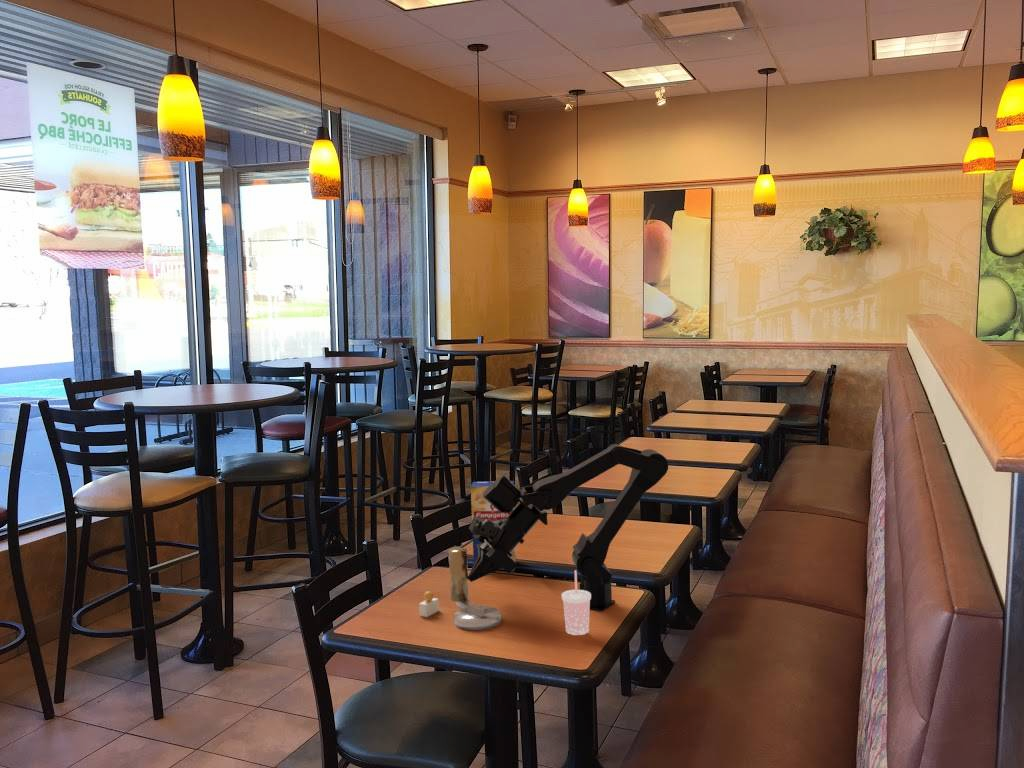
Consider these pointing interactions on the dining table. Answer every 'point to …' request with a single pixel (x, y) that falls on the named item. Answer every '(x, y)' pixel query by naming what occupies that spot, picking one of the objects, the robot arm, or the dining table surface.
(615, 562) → the dining table surface
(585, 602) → the beverage cup
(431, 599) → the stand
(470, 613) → the wall lamp
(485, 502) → the beverage box
